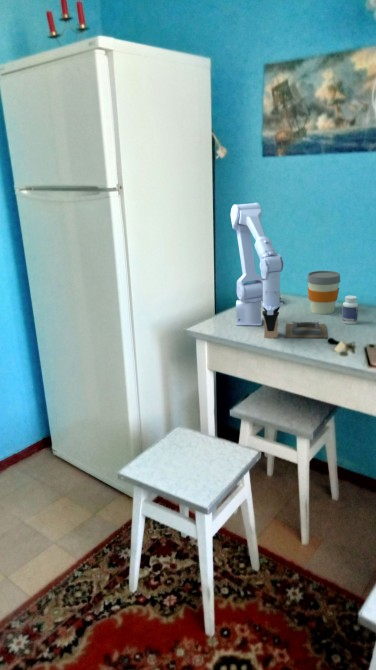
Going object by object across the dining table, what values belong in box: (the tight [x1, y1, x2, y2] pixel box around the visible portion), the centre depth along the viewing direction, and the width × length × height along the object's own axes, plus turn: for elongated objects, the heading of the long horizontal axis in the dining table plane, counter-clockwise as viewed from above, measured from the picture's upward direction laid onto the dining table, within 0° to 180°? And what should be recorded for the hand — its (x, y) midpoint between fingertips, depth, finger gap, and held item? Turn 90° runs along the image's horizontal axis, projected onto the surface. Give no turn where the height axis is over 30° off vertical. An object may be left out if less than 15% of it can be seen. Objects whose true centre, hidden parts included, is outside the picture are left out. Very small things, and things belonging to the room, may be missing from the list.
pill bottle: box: [341, 295, 359, 325], centre depth 177 cm, size 5×5×10 cm
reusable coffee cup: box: [306, 270, 341, 315], centre depth 191 cm, size 13×13×15 cm
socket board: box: [284, 321, 328, 340], centre depth 172 cm, size 14×14×2 cm
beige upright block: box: [263, 316, 279, 339], centre depth 169 cm, size 4×4×7 cm
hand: (271, 328), depth 169 cm, fingers closed on beige upright block, 4 cm apart
